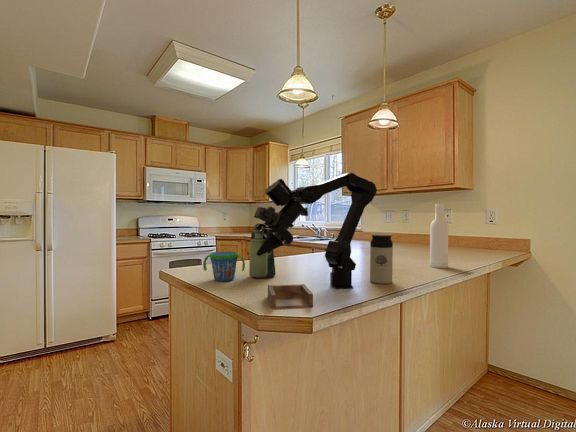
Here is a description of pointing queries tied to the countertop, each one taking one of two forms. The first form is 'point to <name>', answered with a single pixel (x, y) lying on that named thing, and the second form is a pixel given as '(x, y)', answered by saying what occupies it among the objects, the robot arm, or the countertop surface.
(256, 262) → the bottle
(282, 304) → the wooden serving tray
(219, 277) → the snack cup
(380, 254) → the travel mug
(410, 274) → the countertop surface
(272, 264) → the coffee jar
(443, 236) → the bottle
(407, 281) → the countertop surface
